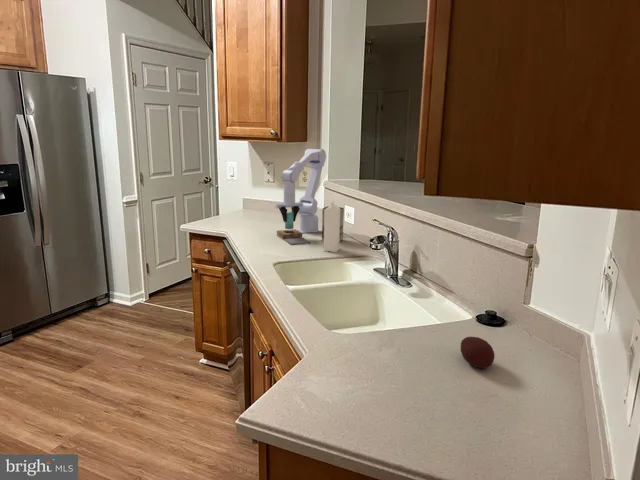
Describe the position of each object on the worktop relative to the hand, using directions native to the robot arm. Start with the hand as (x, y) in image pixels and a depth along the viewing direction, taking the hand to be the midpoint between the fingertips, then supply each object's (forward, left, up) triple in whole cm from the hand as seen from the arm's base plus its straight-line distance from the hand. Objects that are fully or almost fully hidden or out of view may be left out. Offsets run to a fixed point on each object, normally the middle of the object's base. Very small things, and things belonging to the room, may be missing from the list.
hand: (289, 221), depth 232 cm
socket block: (0, 0, -8) cm, 8 cm away
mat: (0, +11, -8) cm, 14 cm away
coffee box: (-18, +13, -8) cm, 24 cm away
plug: (0, 0, -3) cm, 3 cm away
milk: (-9, +31, -8) cm, 33 cm away
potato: (+3, +138, -8) cm, 138 cm away
